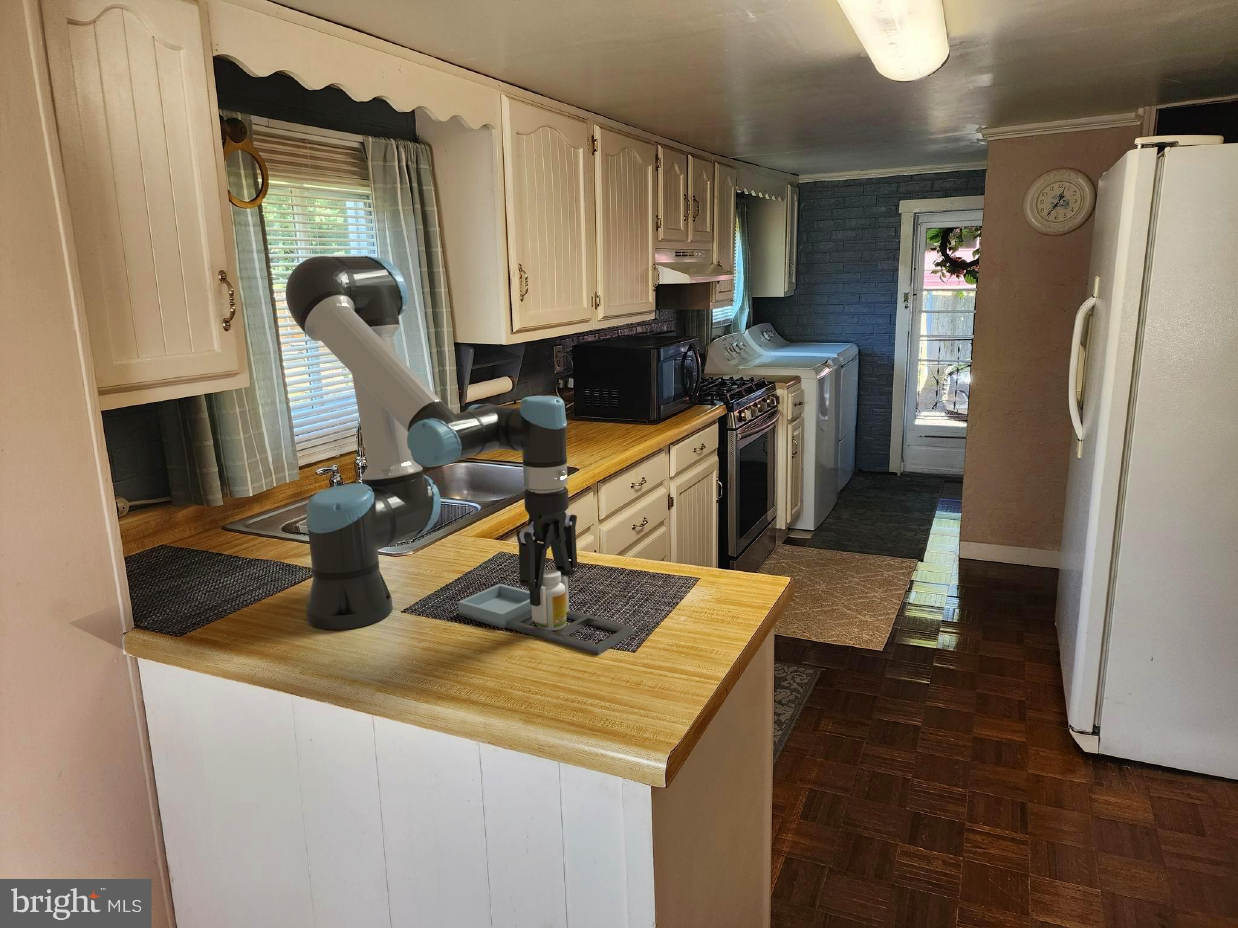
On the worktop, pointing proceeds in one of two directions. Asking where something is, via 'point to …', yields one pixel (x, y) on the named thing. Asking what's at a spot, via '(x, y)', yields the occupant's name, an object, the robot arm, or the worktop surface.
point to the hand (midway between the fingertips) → (550, 615)
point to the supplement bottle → (554, 601)
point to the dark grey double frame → (562, 636)
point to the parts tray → (496, 605)
